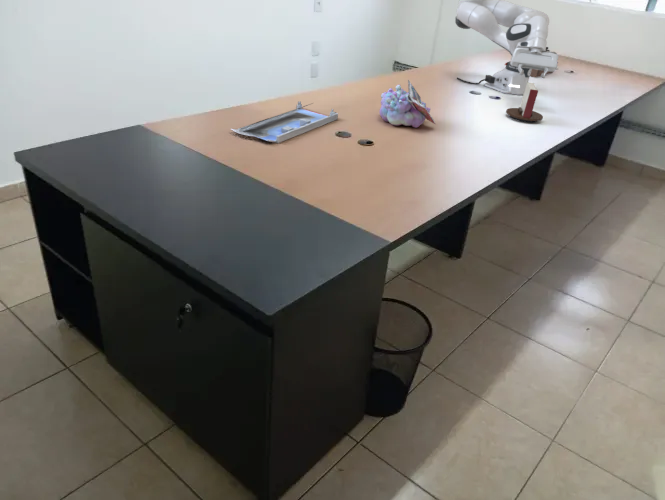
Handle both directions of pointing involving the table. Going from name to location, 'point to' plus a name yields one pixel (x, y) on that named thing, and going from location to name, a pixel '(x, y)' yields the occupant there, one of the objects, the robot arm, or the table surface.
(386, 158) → the table surface
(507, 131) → the table surface
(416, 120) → the lilac bumpy lump
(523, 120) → the stand base
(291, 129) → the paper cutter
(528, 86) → the upright block on disc
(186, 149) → the table surface
